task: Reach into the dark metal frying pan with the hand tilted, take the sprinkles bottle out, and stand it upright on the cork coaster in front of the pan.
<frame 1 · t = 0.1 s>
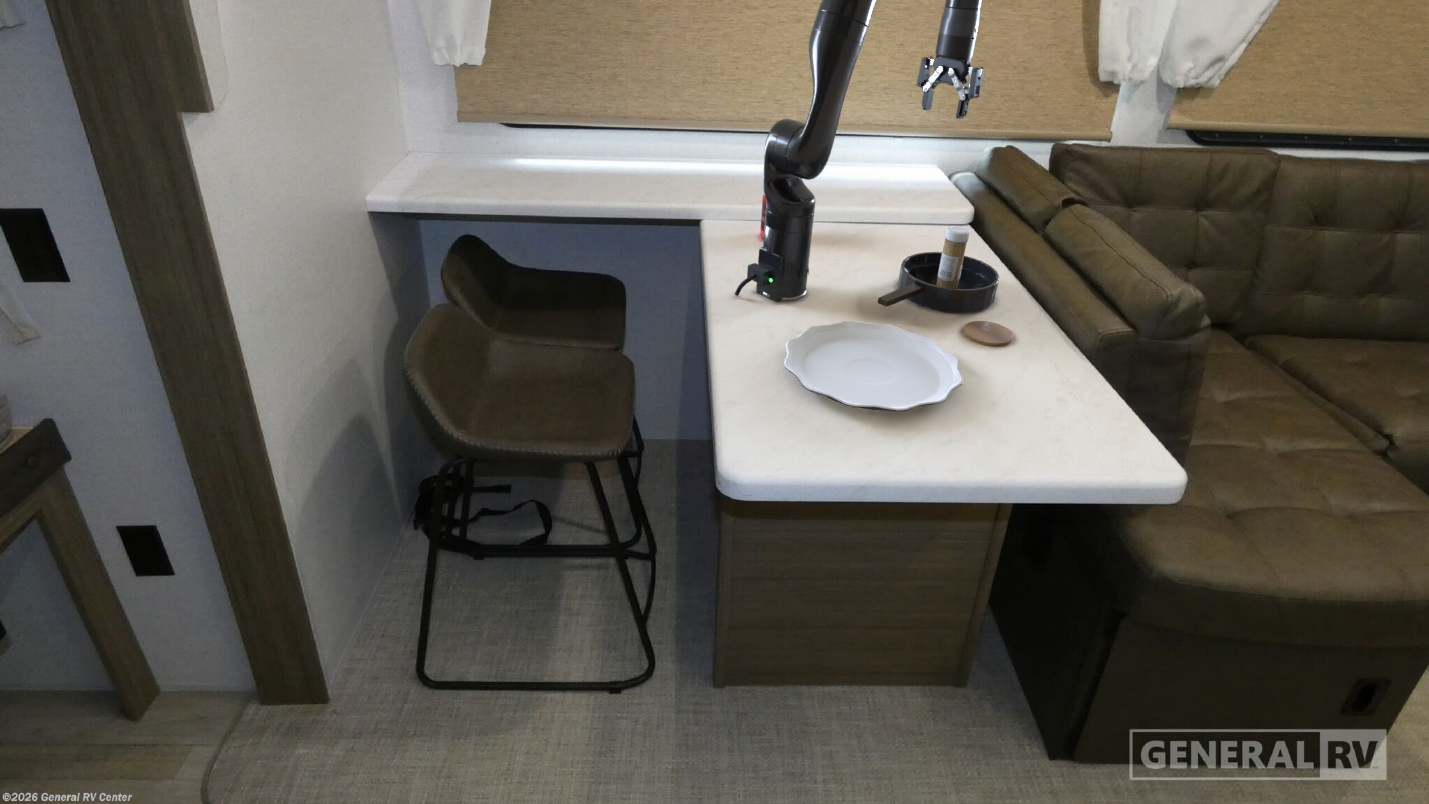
hand: (943, 113, 177), 29 cm above the table, tool pointing down, fingers open, 8 cm apart
sprinkles bottle: (945, 293, 170), resting on pan
plate: (869, 374, 141), on the table
canned food: (776, 238, 193), on the table
coaster: (987, 334, 155), on the table
pan: (945, 293, 170), on the table
pan handle: (900, 295, 159), point 3 cm above the table
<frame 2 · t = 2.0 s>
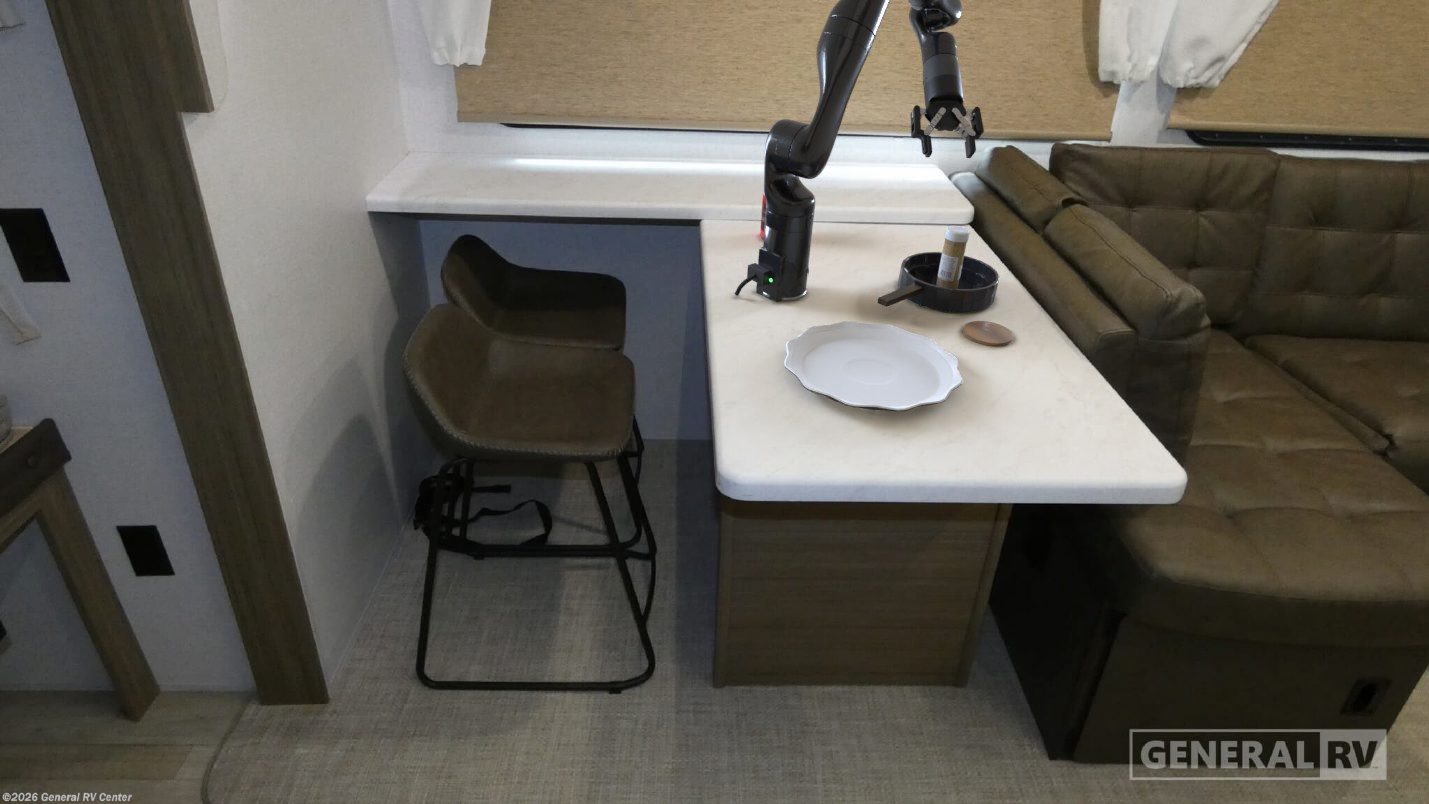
hand: (949, 155, 167), 25 cm above the table, tool tilted 45°, fingers open, 8 cm apart
nothing on the table moved.
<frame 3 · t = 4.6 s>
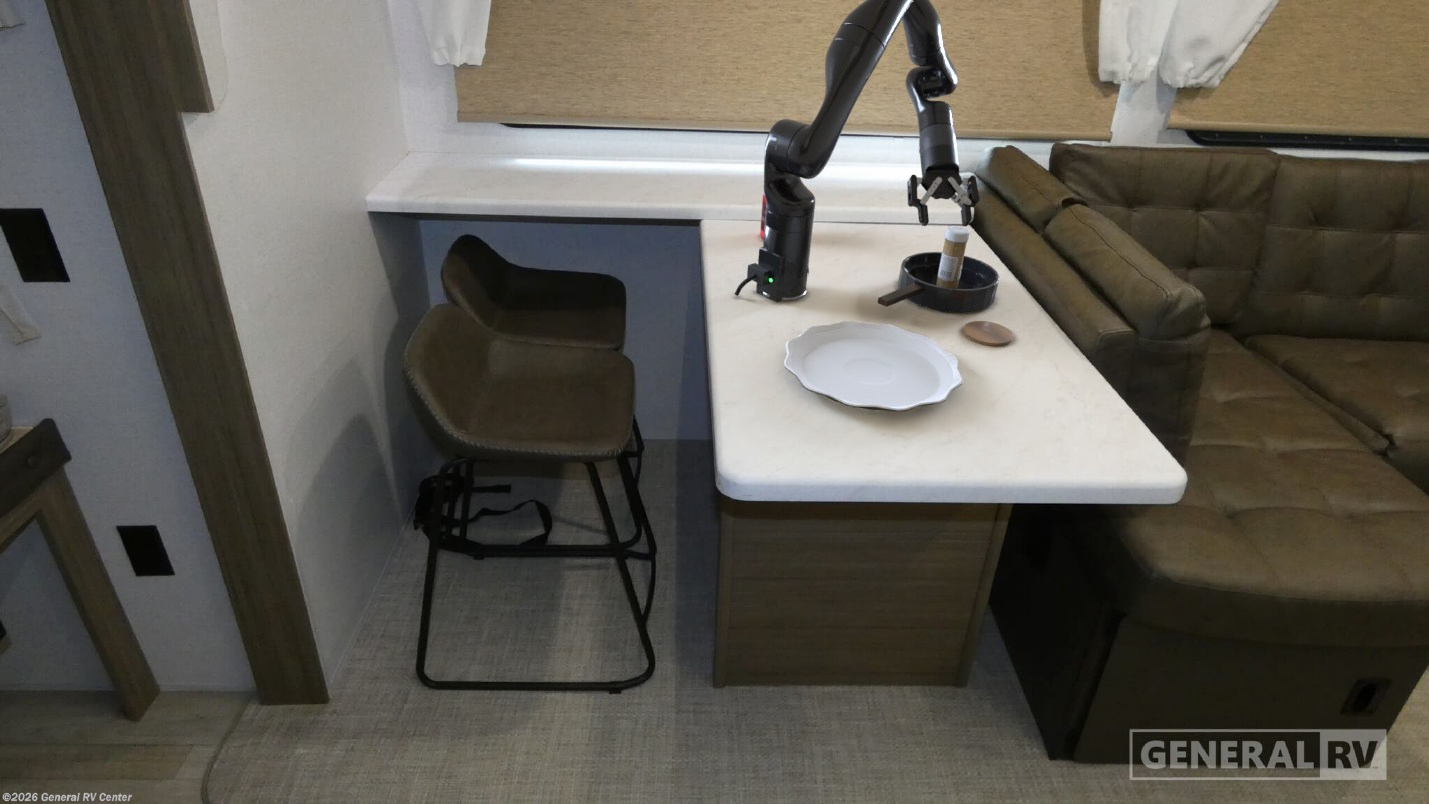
hand: (945, 224, 169), 12 cm above the table, tool tilted 45°, fingers open, 8 cm apart
nothing on the table moved.
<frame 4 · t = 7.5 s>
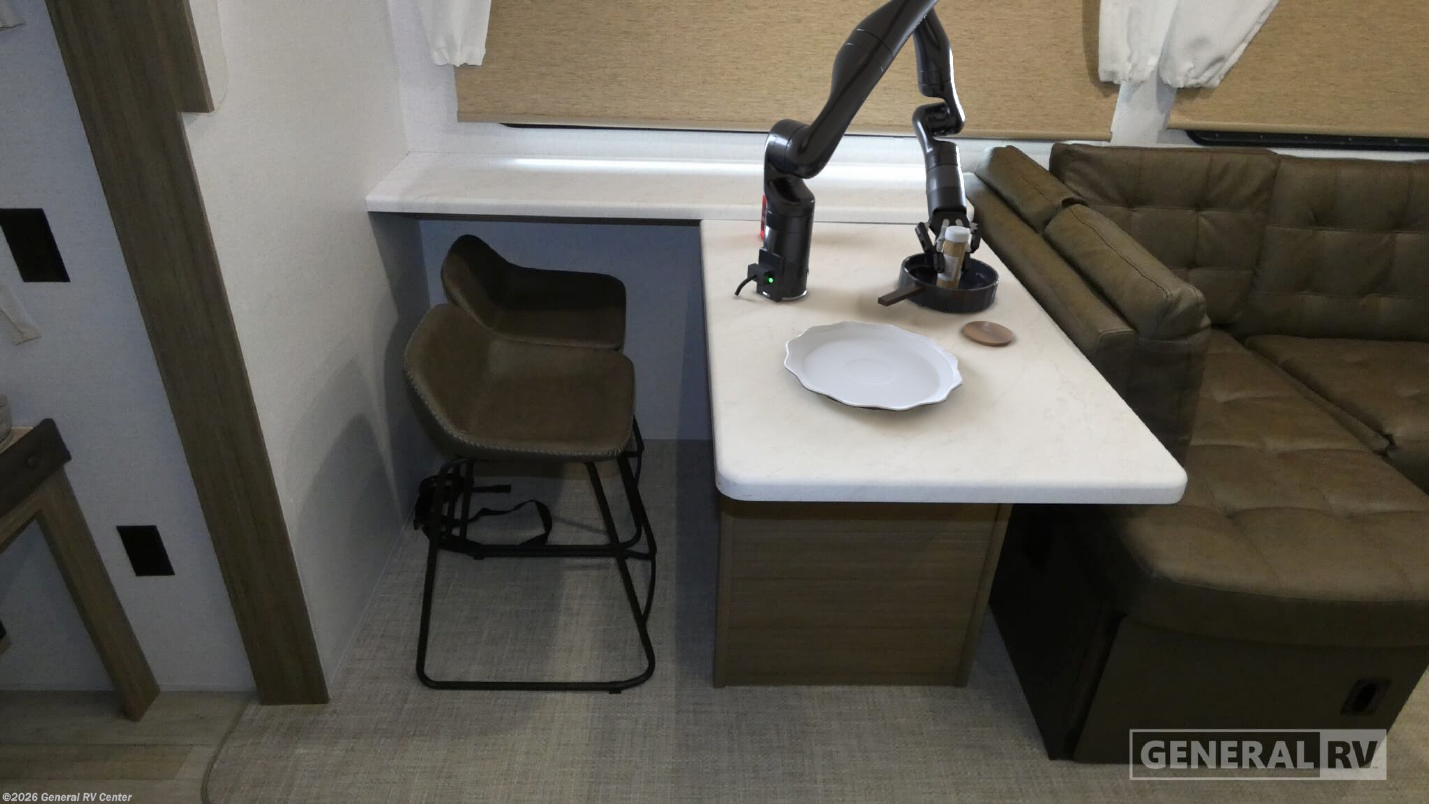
hand: (953, 271, 166), 5 cm above the table, tool tilted 45°, fingers closed on sprinkles bottle, 4 cm apart
sprinkles bottle: (945, 292, 170), resting on pan, touching gripper
everything else where it was.
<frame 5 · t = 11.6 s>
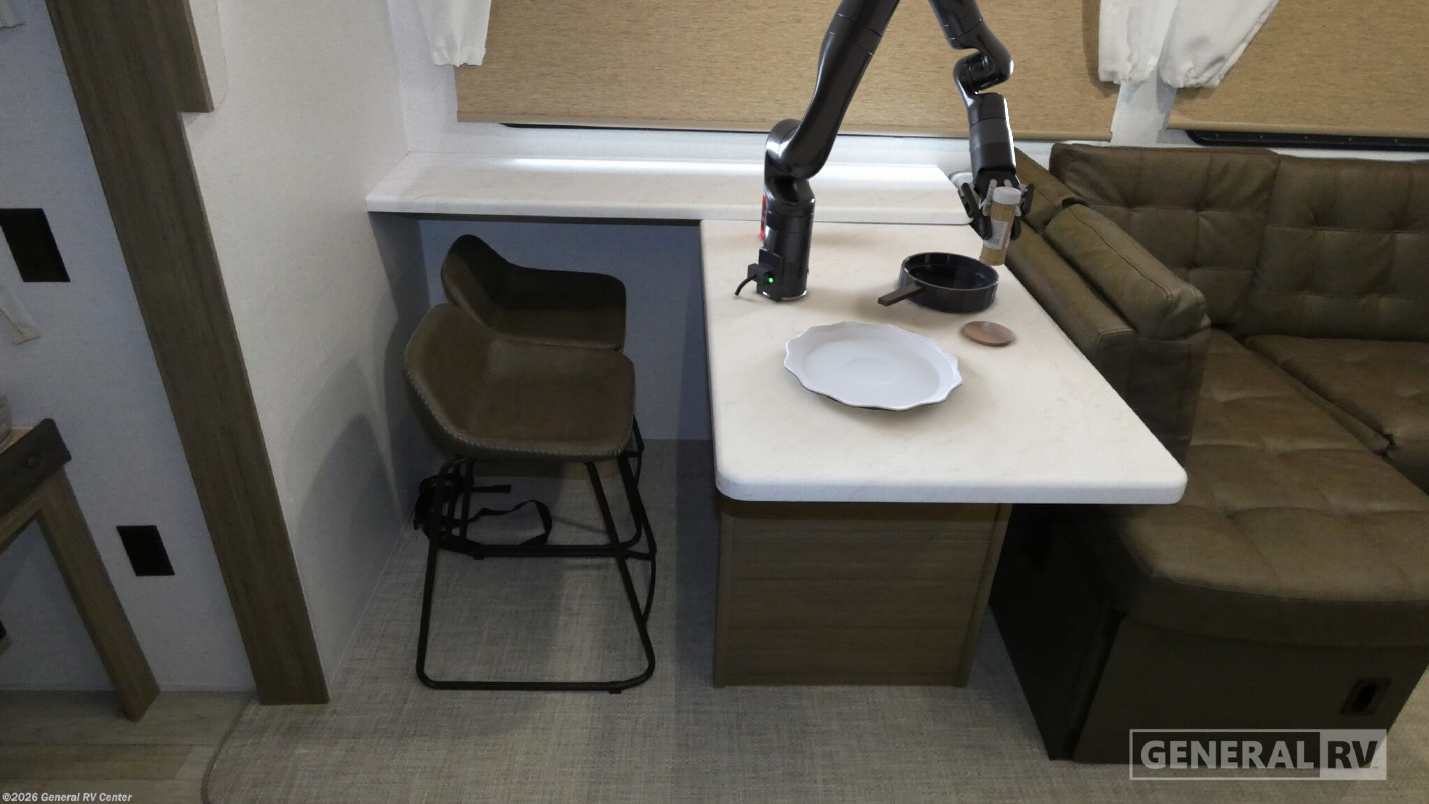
hand: (1001, 238, 148), 18 cm above the table, tool tilted 45°, fingers closed on sprinkles bottle, 4 cm apart
sprinkles bottle: (990, 263, 152), point 12 cm above the table, touching gripper
everything else where it was.
when the fingers open (6 cm above the table, at t = 15.8 s): sprinkles bottle stays where it is, resting on coaster.
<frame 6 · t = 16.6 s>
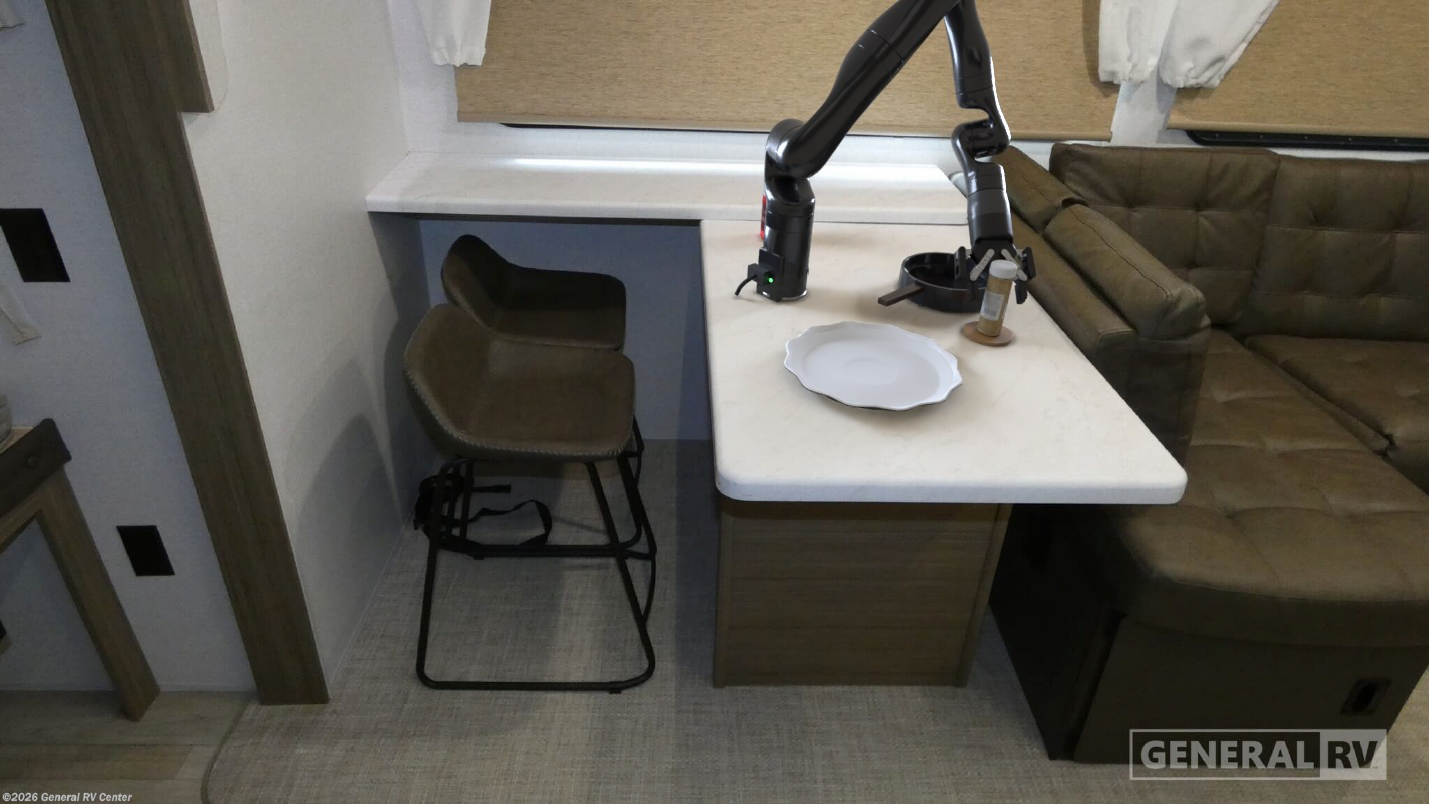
hand: (998, 302, 150), 7 cm above the table, tool tilted 45°, fingers open, 8 cm apart
sprinkles bottle: (988, 332, 155), resting on coaster
everything else where it was.
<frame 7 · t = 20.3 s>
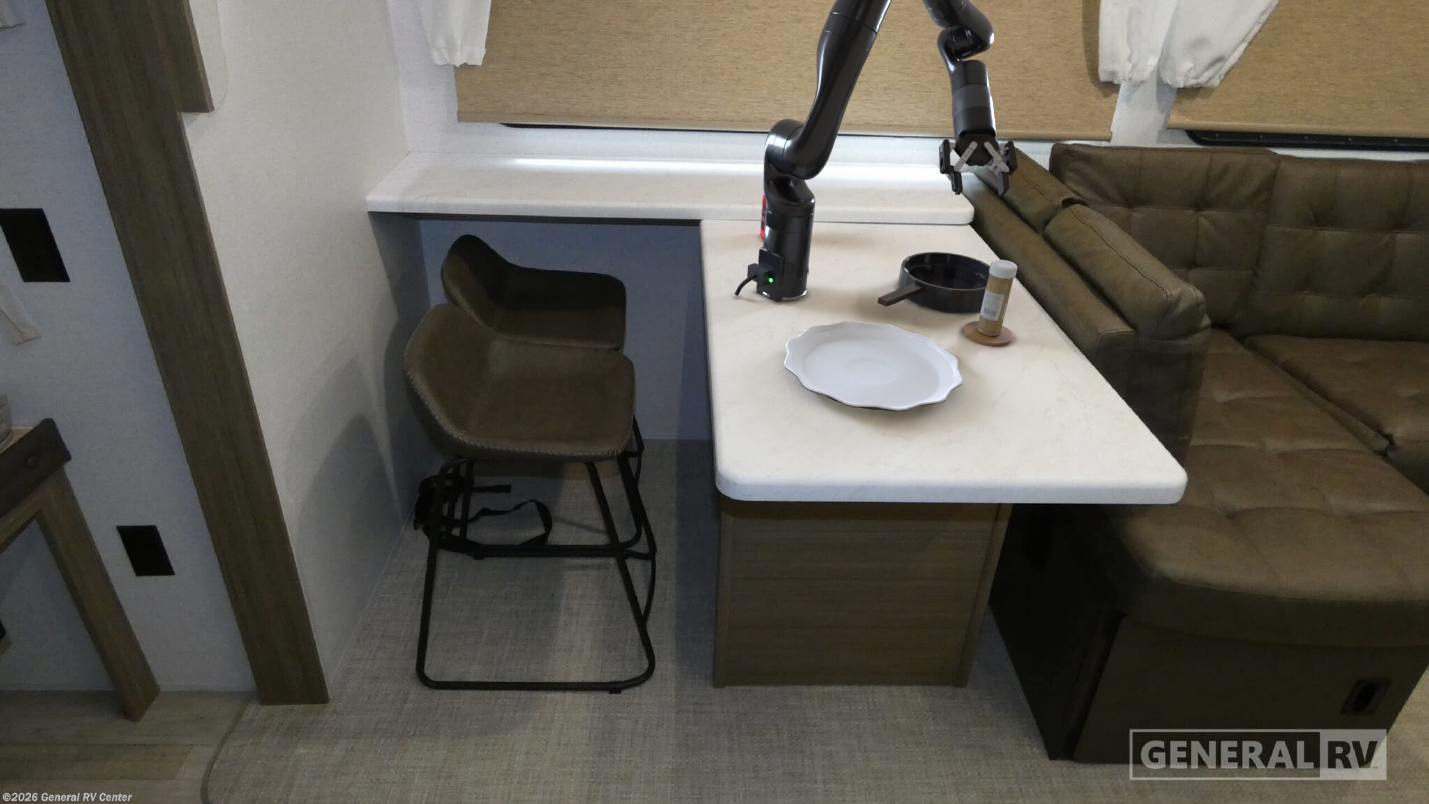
hand: (981, 193, 156), 22 cm above the table, tool tilted 45°, fingers open, 8 cm apart
nothing on the table moved.
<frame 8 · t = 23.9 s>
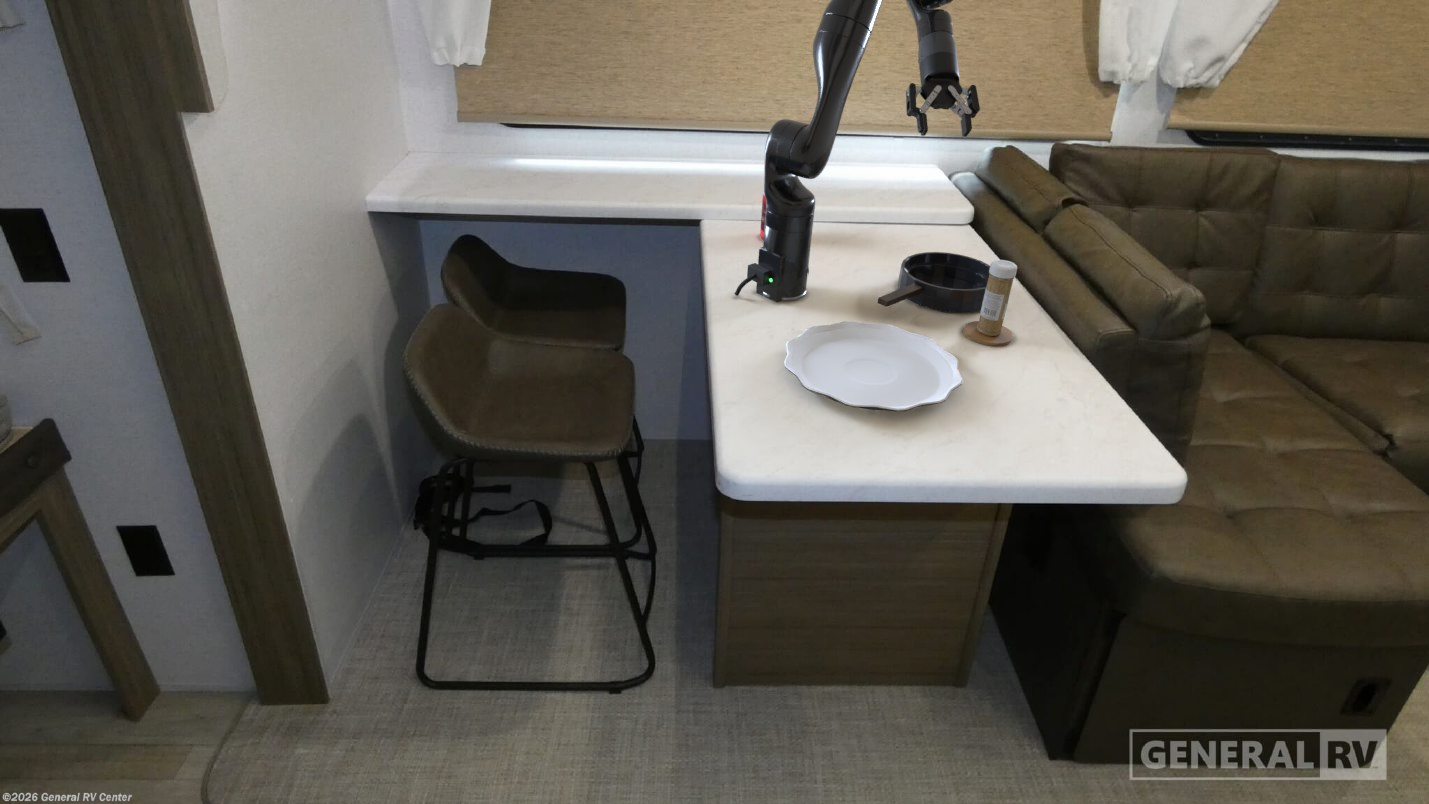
hand: (945, 134, 165), 29 cm above the table, tool tilted 45°, fingers open, 8 cm apart
nothing on the table moved.
at the end: sprinkles bottle 0.1 cm off-centre on the coaster, point 0.4 cm above the coaster's base; sprinkles bottle tilted 0°; sprinkles bottle touching coaster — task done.
